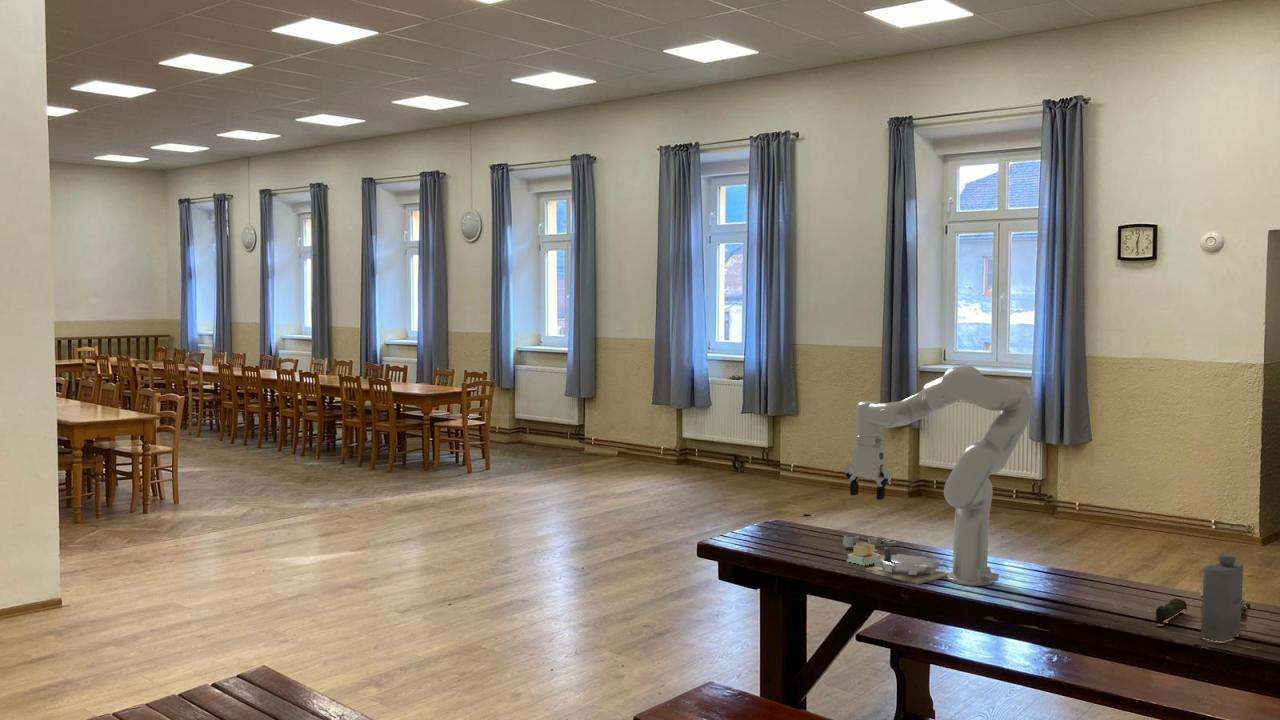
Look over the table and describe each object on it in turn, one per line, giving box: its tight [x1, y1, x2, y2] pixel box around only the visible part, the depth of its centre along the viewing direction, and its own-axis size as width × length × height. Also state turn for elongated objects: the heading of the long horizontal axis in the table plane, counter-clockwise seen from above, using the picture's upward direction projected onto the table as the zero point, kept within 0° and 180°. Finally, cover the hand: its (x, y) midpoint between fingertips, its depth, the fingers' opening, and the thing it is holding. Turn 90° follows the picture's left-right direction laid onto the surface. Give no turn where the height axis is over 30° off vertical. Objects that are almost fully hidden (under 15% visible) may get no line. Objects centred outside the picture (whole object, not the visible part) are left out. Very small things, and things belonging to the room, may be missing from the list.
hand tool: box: [1154, 598, 1188, 623], centre depth 271 cm, size 19×4×5 cm, turn 136°
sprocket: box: [874, 546, 940, 575], centre depth 313 cm, size 18×18×6 cm
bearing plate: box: [865, 565, 950, 585], centre depth 313 cm, size 18×16×2 cm
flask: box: [1200, 553, 1244, 641], centre depth 256 cm, size 15×6×20 cm, turn 132°
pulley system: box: [842, 535, 898, 554], centre depth 348 cm, size 27×5×15 cm
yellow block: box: [852, 542, 876, 558], centre depth 327 cm, size 4×6×5 cm, turn 132°
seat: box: [846, 553, 882, 567], centre depth 327 cm, size 6×9×2 cm
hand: (867, 497), depth 326 cm, fingers open, 9 cm apart
